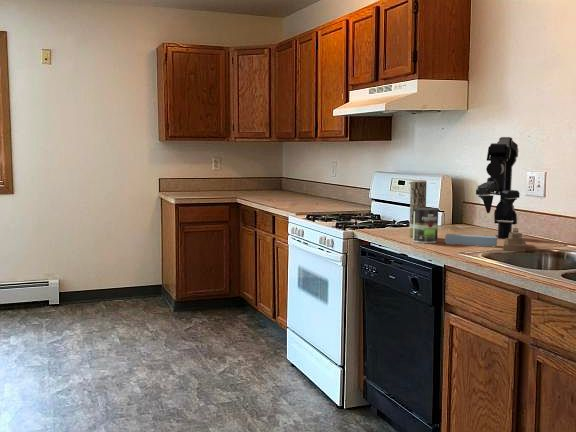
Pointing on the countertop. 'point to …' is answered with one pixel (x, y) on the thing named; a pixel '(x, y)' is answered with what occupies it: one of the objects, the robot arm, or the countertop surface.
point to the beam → (470, 240)
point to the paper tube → (416, 199)
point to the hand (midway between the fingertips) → (496, 214)
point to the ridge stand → (515, 241)
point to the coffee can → (425, 225)
